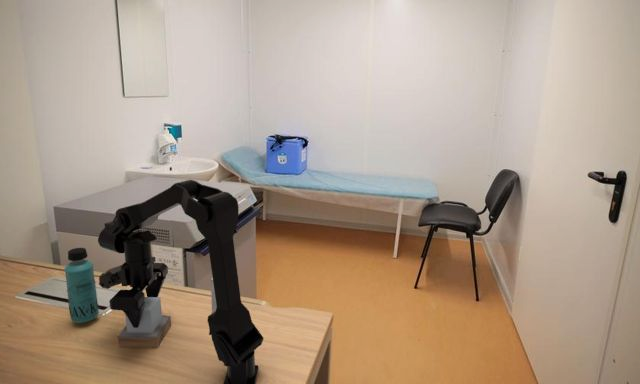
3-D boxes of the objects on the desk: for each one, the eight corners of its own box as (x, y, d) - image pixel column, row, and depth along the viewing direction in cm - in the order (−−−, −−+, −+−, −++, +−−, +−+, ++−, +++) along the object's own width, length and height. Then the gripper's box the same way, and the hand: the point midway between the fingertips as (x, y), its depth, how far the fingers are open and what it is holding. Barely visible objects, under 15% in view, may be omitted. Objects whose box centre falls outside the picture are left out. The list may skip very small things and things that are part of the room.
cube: (152, 332, 94) (150, 310, 93) (127, 332, 94) (124, 309, 93) (162, 318, 100) (160, 297, 98) (138, 318, 100) (136, 296, 98)
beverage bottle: (65, 323, 102) (54, 251, 97) (90, 311, 108) (81, 242, 103) (81, 331, 99) (70, 257, 94) (106, 318, 105) (97, 247, 100)
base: (157, 347, 93) (156, 336, 93) (119, 347, 93) (117, 336, 93) (171, 325, 102) (170, 315, 101) (135, 325, 102) (134, 314, 101)
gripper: (122, 241, 101) (128, 296, 105) (80, 274, 83) (89, 339, 87) (166, 242, 102) (170, 297, 105) (134, 275, 83) (140, 340, 87)
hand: (144, 316), depth 96 cm, fingers open, 9 cm apart
